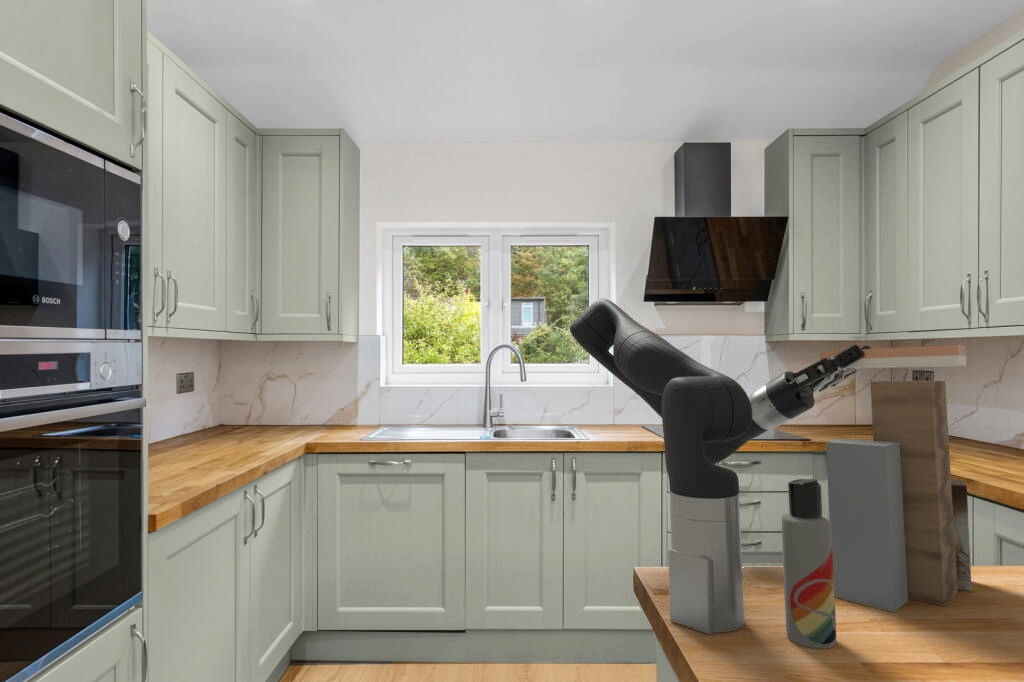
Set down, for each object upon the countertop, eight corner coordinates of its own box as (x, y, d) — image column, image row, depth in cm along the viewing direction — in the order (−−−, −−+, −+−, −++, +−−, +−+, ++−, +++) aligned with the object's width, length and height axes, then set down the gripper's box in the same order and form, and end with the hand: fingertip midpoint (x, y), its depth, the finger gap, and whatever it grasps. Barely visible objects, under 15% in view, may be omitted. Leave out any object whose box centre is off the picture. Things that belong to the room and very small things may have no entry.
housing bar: (958, 365, 84) (957, 344, 85) (820, 368, 99) (820, 351, 99) (966, 365, 87) (965, 345, 87) (830, 368, 102) (829, 351, 102)
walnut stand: (944, 606, 84) (931, 381, 86) (881, 591, 90) (870, 381, 92) (957, 594, 88) (945, 380, 90) (896, 580, 94) (886, 381, 96)
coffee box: (901, 581, 94) (895, 480, 95) (900, 570, 99) (895, 474, 100) (973, 592, 89) (967, 484, 90) (968, 579, 94) (962, 478, 95)
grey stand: (893, 612, 82) (885, 446, 83) (833, 596, 88) (825, 441, 90) (908, 601, 86) (899, 442, 87) (849, 586, 92) (841, 438, 93)
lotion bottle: (835, 654, 70) (827, 484, 71) (783, 643, 73) (776, 480, 74) (838, 635, 75) (830, 477, 76) (789, 626, 78) (782, 474, 79)
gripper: (748, 383, 103) (835, 328, 93) (785, 382, 113) (869, 332, 102) (770, 422, 100) (863, 369, 89) (807, 417, 109) (896, 369, 98)
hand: (866, 350), depth 96 cm, fingers closed on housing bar, 4 cm apart
